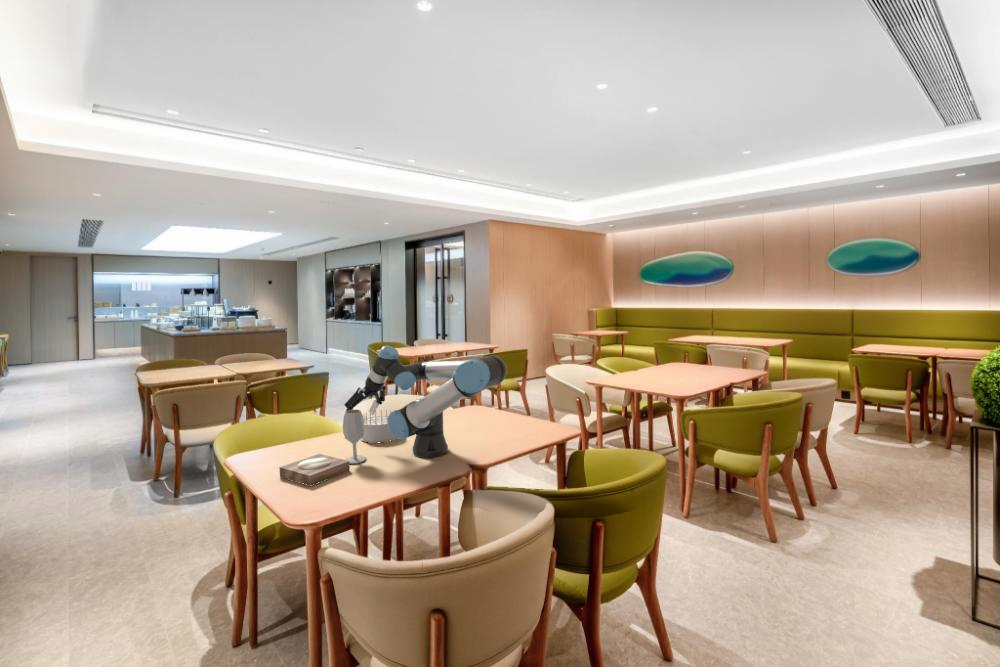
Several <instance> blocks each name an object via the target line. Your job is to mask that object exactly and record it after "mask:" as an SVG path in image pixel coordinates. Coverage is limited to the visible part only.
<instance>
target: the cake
mask: <svg viewBox="0 0 1000 667" xmlns="http://www.w3.org/2000/svg"><path fill="white" fill-rule="evenodd" d="M391 412H392V411H391V409H390V410H389V414H390V413H391ZM388 417H389V415H388V410H387V409H385V415H383V412H382V409H380V415H377V410H376V411H375V413H374V416H372V414H371V413H370V412H369V417H368V413H367V412H365V414H363V420H364V434H363V437H362V438H361V439H360V440H359V441H361V442H362V441H364V442H363V443H365V442H368V443H367V444H379V443H378V442H384V443H386V442H385V441H389V442H391V441H390V440H393V439H395V440H397V439H396V437H394V436H393V435H392V434H391V432H390V430H389V427H388ZM393 441H394V440H393Z"/></svg>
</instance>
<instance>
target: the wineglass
mask: <svg viewBox="0 0 1000 667" xmlns="http://www.w3.org/2000/svg"><path fill="white" fill-rule="evenodd" d="M345 411H346V410H345ZM363 416H364V414H363V413H362V411H361V409H354V410H348V411H346V412H344V416H343V421H342V432H343V435H344V439H345V440H346V441H348V442H349V443H351V444H352V452H353V453H352V456H349V457H346V458H345V459H344V460H347V461H349V465H357V464H358V465H359V464H361V463H364V462H365V461H367V457H366V456H363V455H357V454H358V451H357V450H358V449H357V443H359V441H361V440H360V439H361V438H362V437H363V434H364V420H363V419H364V417H363Z"/></svg>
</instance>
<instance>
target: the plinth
mask: <svg viewBox="0 0 1000 667" xmlns="http://www.w3.org/2000/svg"><path fill="white" fill-rule="evenodd" d="M349 470H350V464H349V461H347V460H345V459H342V458H339V457H334V456H330V455H326V454H322V453H317V454H315V455H312V456H308V457H305V458H303V459H299V460H297V461H294V462H291V463H288V464H285V465H282V466H279V478H280V477H283V478H286V479H285V480H287V479H289V480H288V481H290V480H293V481H297V482H300V483H304V484H307V485H313V484H316V483H318V482H321V481H323V482H325V481H324V480H326V479H328V480H330V479H329V478H331V477H333V478H335V477H334V476H336V475H338V476H340V475H339V474H341V475H343V474H345V473H344V472H346V473H348V472H350V471H351V470H350V471H349ZM347 471H348V472H347ZM342 473H343V474H342ZM336 477H337V476H336ZM283 478H282V479H283ZM331 479H332V478H331ZM293 481H292V482H293ZM326 481H327V480H326ZM297 482H296V483H297ZM300 483H299V484H300ZM321 483H322V482H321ZM304 484H303V485H304ZM318 484H319V483H318ZM307 485H306V486H307ZM316 485H317V484H316ZM313 486H314V485H313Z"/></svg>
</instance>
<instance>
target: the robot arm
mask: <svg viewBox="0 0 1000 667" xmlns="http://www.w3.org/2000/svg"><path fill="white" fill-rule="evenodd" d="M398 357H399V351H398V350H397V349H396V348H395V347H393V346H390V345H383V346H382V347H381V348H380V350H379V352H378V353H377V356H376V358H375V361H374V363H373V365H372V367H371V369H370V371H369V373H368V375H367V377H366V379H365V386H364V387H362V388H361V387H357V389H356V391H355V392H354V393H353V394H352V396H351V397H350V398H349V399H348V400H347V401H346V402H345V403H344V406H345V408H346V410H345V412H346V411H348V410H355V409H354V408H355V407H356V406H358V405H359V404H360V403H361V402H362V401H363V400H366V399H367V398H370V397H374V399H375V400H373V402H372V404H371V406H370V407H369V410H368V412H369V414H370V413H371V416H375V411H376V412H377V409H378V408H379V405H382V404H383V403H384V402H385V401H386V393H385V392H386V389H387V386H386V385H385V384H386V381H387V379H388V378H389V379H390V380H391V381H392V382H393V383H394V384H395V386H397V387H398V388H399V389H401V390H402V391H407V390H410V389H411V388H412V387H414V385H415V383H416V382H418V381H427V380H428V381H429V380H447V381H446V382H444V383H443V384H442V385H440V386H439V387H437V388H435V390H433V391H431V392H430V393H429V394H427V395H426V396H424V397H423V398H417V399H415V400H413V401H411V402H409V403H408V404H406V405H404V406H403V407H401V408H399V409H395V410H392V411H391V413H390V412H389V414H388V416H389V417H388V427H389V430H390V432H391V434H392V435H393V436H394V437H396V438H397V439H396V440H405V439H406V440H407V438H409V437H412V436H414V435H415V438H414V442H413V446H412V455H413V454H414V455H413V456H415V457H418V456H419V458H425V457H429V458H437V457H441V456H443V455H446V454H447V453H448V452H449V446H448V443H447V441H446V438H445V434H444V411H445V410H447V409H449V408H451V407H452V406H453V405H455V404H457V403H458V402H459V401H461V400H463V399H464V398H467V399H472V398H473V397H475V396H476V395H478V394H480V393H481V392H482V391H485V390H486V389H489V388H492V387H496V386H498V385H500V384H502V383H503V381H505V378H506V377H507V374H508V367H507V364H506V362H505V361H504V360H503V359H502V358H501V357H500V356H498V355H486V356H482V357H477V358H470V359H466V360H445V361H429V360H426V361H425V360H423V361H419V362H416V363H410V364H406V365H404V364H403V363H402V362H401V361H400V360H399V359H398ZM345 412H344V413H345Z"/></svg>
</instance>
